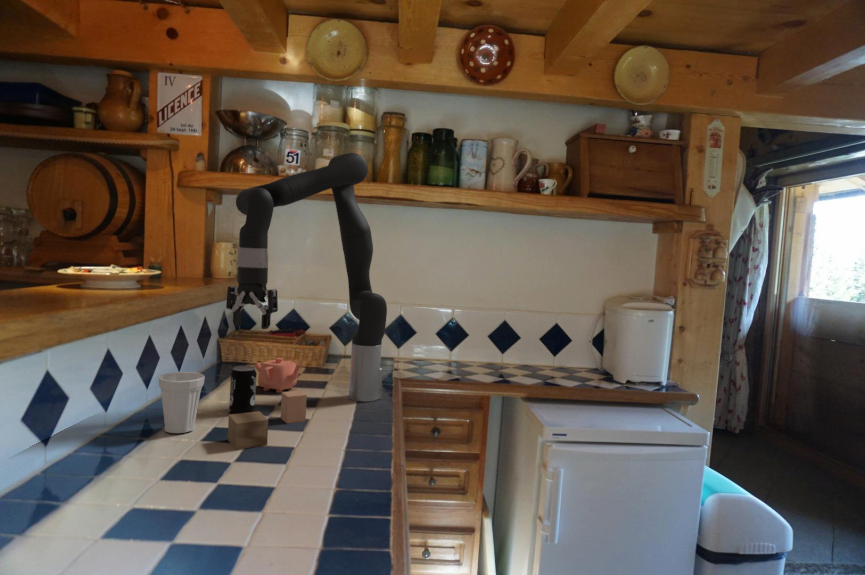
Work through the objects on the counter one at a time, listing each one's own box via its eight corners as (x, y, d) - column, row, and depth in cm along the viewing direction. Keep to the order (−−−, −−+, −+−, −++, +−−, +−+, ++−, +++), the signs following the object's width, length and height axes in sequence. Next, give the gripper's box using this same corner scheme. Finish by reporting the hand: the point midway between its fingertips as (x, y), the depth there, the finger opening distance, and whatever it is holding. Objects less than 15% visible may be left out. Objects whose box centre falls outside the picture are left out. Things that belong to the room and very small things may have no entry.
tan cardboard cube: (298, 415, 141) (299, 390, 141) (305, 421, 137) (306, 395, 137) (280, 418, 138) (281, 392, 138) (286, 423, 134) (288, 396, 134)
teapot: (254, 394, 159) (256, 362, 158) (252, 385, 170) (254, 354, 169) (302, 393, 164) (304, 361, 163) (297, 384, 175) (299, 354, 174)
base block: (258, 435, 124) (259, 411, 124) (267, 445, 119) (268, 419, 118) (227, 440, 120) (228, 414, 120) (235, 450, 115) (236, 423, 114)
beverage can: (246, 415, 138) (248, 371, 138) (224, 412, 139) (226, 368, 139) (259, 409, 145) (261, 366, 144) (237, 406, 146) (239, 364, 145)
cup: (193, 421, 131) (195, 370, 131) (209, 432, 124) (211, 378, 123) (150, 428, 124) (152, 374, 124) (164, 440, 117) (166, 383, 116)
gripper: (284, 267, 137) (282, 328, 138) (239, 264, 141) (238, 323, 142) (267, 267, 130) (265, 331, 131) (220, 264, 134) (218, 326, 135)
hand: (251, 327), depth 136 cm, fingers open, 8 cm apart
